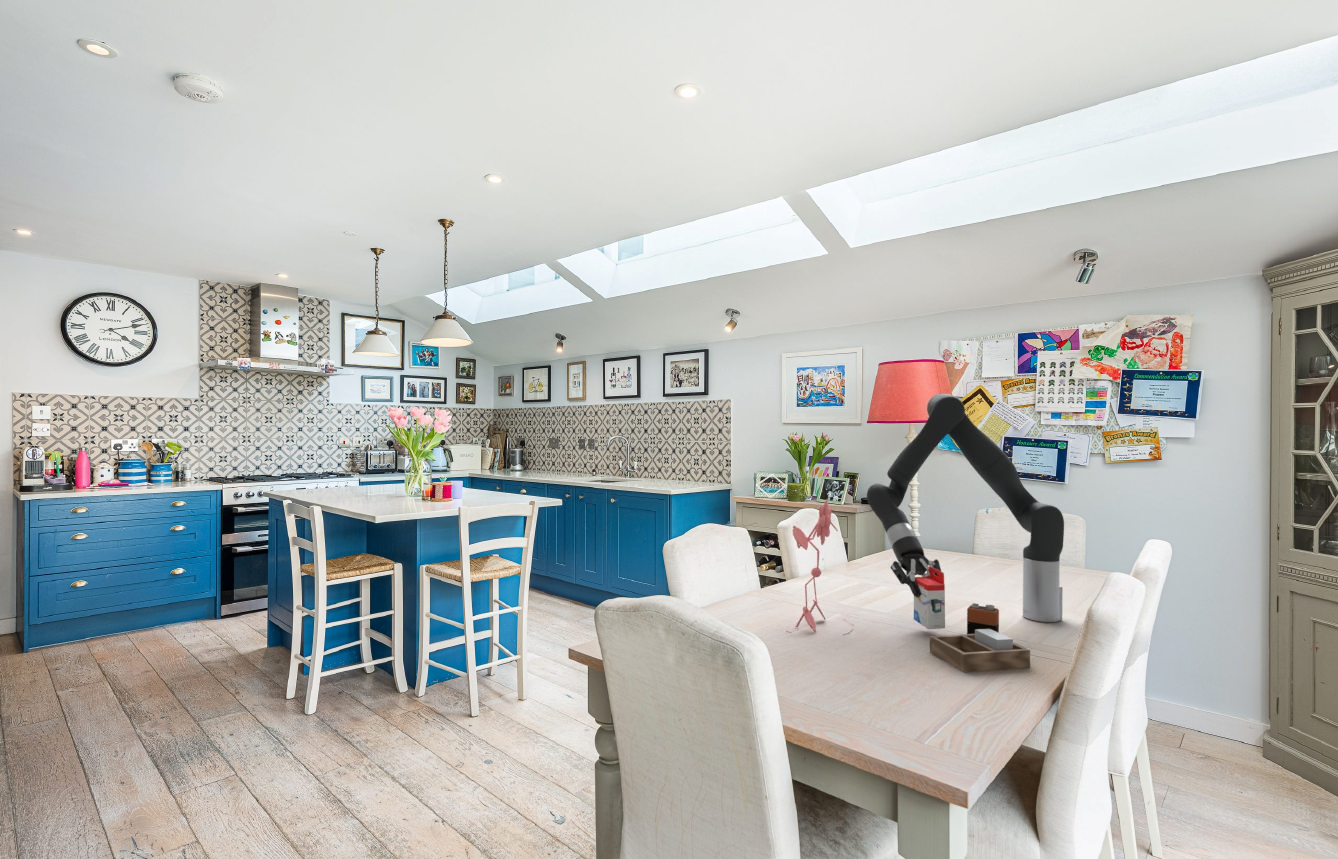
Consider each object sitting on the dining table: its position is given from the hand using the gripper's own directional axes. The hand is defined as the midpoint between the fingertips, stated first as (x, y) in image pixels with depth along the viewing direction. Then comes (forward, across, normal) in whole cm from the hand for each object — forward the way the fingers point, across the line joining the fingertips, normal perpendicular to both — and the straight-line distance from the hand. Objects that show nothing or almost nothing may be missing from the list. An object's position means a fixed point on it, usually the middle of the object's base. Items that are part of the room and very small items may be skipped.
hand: (928, 595), depth 173 cm
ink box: (+6, 0, +6) cm, 8 cm away
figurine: (0, -25, +14) cm, 29 cm away
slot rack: (+22, 0, -7) cm, 23 cm away
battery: (+15, +9, 0) cm, 17 cm away
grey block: (+22, +4, -7) cm, 23 cm away
